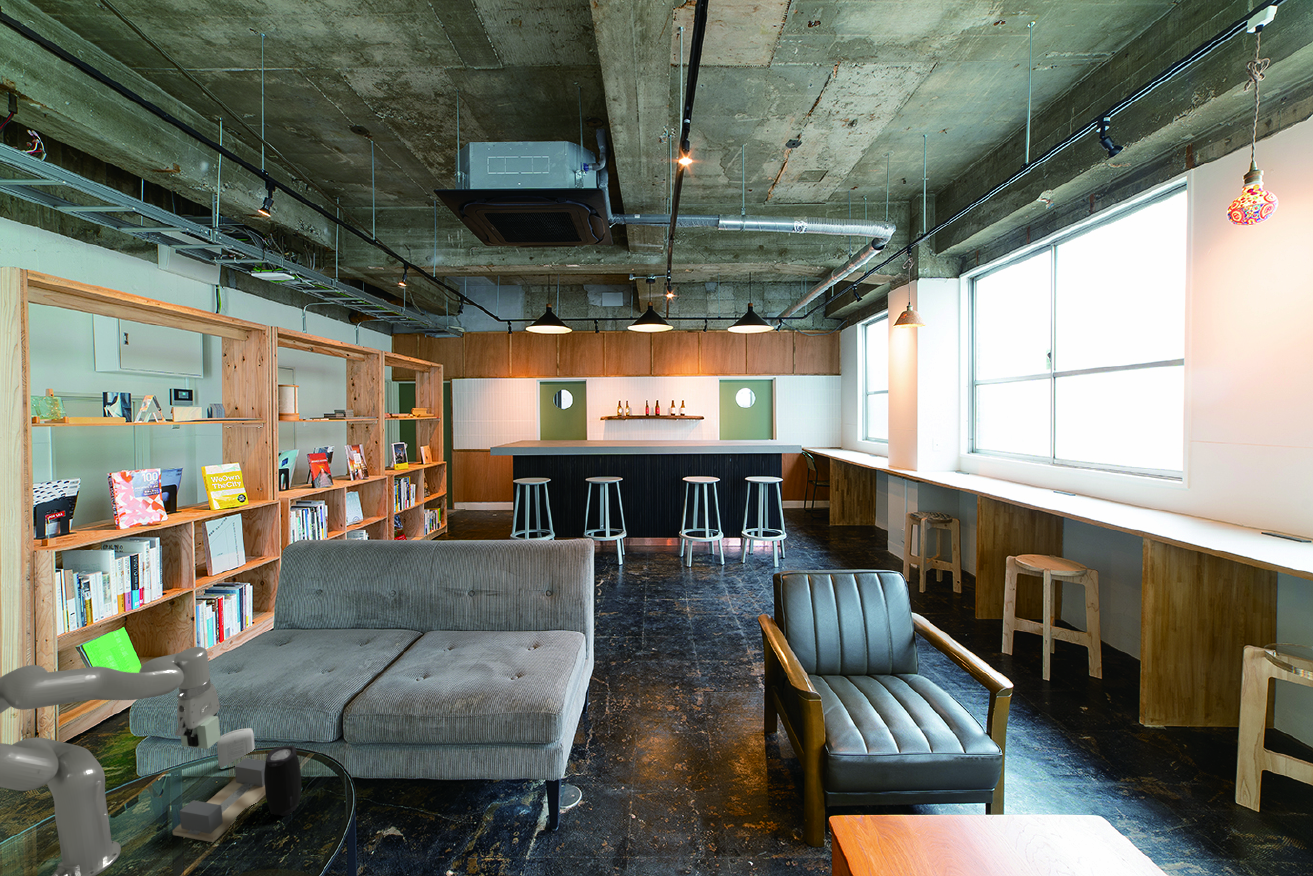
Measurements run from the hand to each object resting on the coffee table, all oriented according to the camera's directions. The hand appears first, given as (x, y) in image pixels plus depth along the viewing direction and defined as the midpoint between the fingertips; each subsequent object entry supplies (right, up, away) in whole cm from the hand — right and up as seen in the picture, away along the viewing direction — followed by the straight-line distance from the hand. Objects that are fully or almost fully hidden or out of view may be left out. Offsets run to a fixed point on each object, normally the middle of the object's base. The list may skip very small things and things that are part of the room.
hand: (201, 739), depth 171 cm
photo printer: (-3, -19, +19) cm, 27 cm away
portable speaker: (+26, -23, +1) cm, 35 cm away
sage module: (0, -1, 0) cm, 1 cm away
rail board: (+8, -22, +1) cm, 23 cm away
